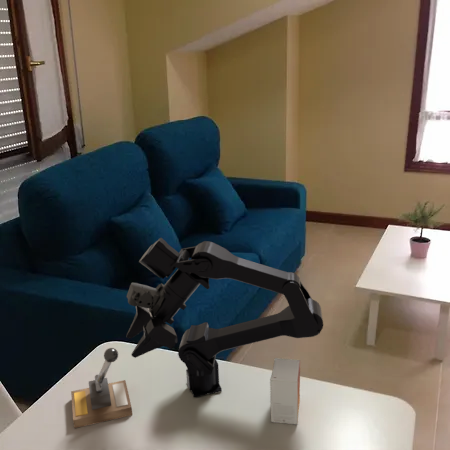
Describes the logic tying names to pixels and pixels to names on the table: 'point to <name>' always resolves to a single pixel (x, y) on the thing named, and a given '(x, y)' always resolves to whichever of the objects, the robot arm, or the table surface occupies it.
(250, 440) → the table surface
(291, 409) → the small box
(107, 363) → the lever
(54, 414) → the table surface
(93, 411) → the switch unit
